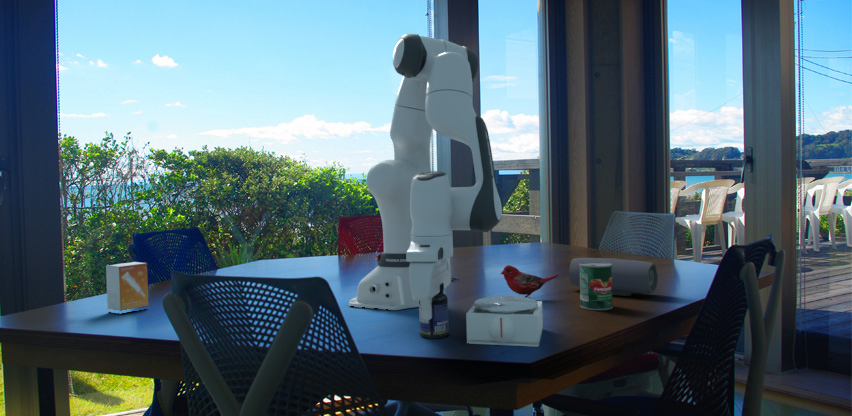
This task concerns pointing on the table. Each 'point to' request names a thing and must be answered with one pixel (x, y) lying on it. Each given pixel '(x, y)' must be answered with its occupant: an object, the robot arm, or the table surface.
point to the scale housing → (505, 327)
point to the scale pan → (506, 304)
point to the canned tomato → (596, 285)
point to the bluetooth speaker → (622, 275)
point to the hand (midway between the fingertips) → (433, 313)
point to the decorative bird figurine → (523, 281)
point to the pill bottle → (436, 317)
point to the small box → (127, 285)
